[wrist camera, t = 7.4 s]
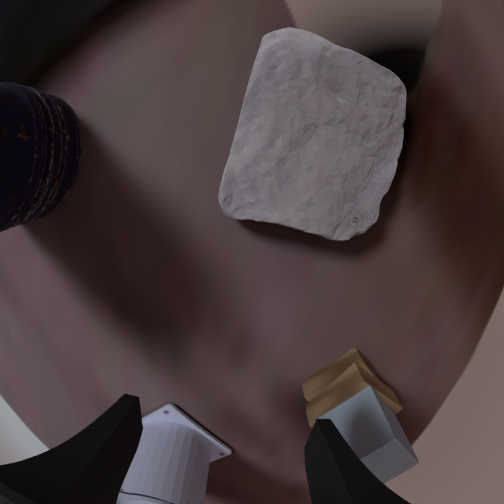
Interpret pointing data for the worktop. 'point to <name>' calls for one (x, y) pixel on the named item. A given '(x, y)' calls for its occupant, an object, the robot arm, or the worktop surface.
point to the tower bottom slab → (333, 373)
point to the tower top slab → (349, 392)
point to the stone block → (314, 138)
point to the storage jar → (35, 153)
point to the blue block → (373, 434)
